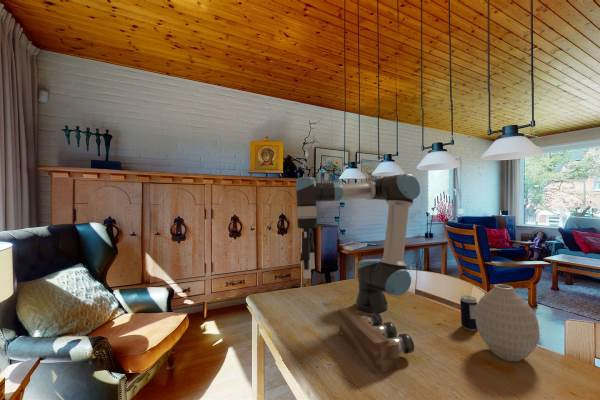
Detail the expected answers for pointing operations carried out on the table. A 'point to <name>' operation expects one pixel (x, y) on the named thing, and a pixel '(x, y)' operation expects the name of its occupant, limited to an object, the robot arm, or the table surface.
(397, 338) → the knob
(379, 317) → the knob
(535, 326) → the vase
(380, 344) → the wooden rack
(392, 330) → the knob
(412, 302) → the table surface
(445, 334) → the table surface
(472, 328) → the beverage can
